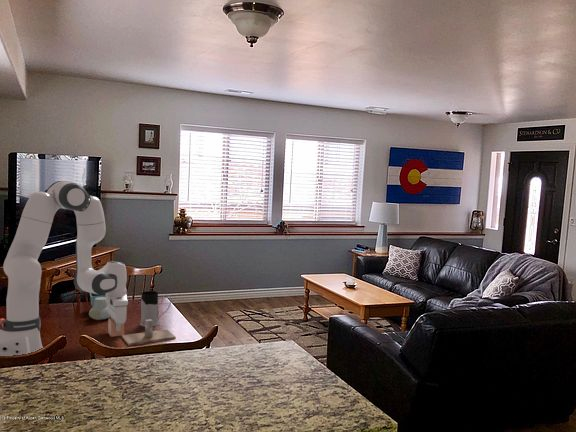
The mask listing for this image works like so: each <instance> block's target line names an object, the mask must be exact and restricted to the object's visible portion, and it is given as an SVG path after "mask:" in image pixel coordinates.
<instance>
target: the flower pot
mask: <svg viewBox="0 0 576 432" xmlns="http://www.w3.org/2000/svg"><path fill="white" fill-rule="evenodd" d="M89 297H90V304H91V309H92V308H93V307H94V302H95V298H98V297H106V293H105V294H94V293H90V292H89ZM107 304H108V303H107Z"/></svg>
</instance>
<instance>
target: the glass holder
mask: <svg viewBox="0 0 576 432" xmlns="http://www.w3.org/2000/svg"><path fill="white" fill-rule="evenodd" d="M166 296H168V297H169V298H170V299H169V305H168V307H167V308H166V310H165V311H163V313H161V314H160V315H159V305H161V304H162V303H163V298H164V297H166ZM140 303H141V305H140V308H141V309H140V312H141V313H140V316H141V317H140V319H141V320H140V324H139V325H140V326H141V327H144V328H145V320H147V319H151V320H153V327H157V326H159V325H160V322H159V320H160V318H161V316H163V315H164V314H165V313H166V312H167V311H168V310H169V308H170V307H171V304H172V298H171V296H170V295H169V294H164V295H163V296H161V302H159V292H158V291H155V290H153V291H152V290H149V291H142V292H141V300H140Z"/></svg>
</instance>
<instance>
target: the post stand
mask: <svg viewBox="0 0 576 432" xmlns="http://www.w3.org/2000/svg"><path fill="white" fill-rule="evenodd" d="M153 328H154V326H153V320H151V319H147V320H145V327H144V331H143V332H137V333H129V334H124V335H121V338H122V339H121V340H123V341H124V342H125V344H126V345H128V346H129V347H131V346H137V345H143V344H151V343H157V342H163V341H170V340H176V338H177V336H176V335H174V334H173V333H172V332H171V331H170V330H169V329H168V328H166V329H165V328H164V329H158V330H153Z"/></svg>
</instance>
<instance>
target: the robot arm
mask: <svg viewBox="0 0 576 432" xmlns="http://www.w3.org/2000/svg"><path fill="white" fill-rule="evenodd" d="M59 209H64V210H69V211H73V213H74V215H75V219H76V230H77V235H76V239H75V272H74V276H73V284H74V287H75V288H76V289H77V290H78V291H79V292H86V293H89V294H90V293H94V294H105V293H106V303H108V304H107V312H108V314H109V315H110V318H112V319H113V320H114V321H115V322H116V331H120V327H121V324H123V323H124V324H126V321H127V311H128V307H127V306H128V305H129V300H128V295H127V292H128V291H127V281H128V275H127V266H126V264H125V263H124V262H120V261H115V260H113V261H111V260H110V261H107V263H106V264H105V265H104V266H103V267H101V268H99V269H98V270H96V269H94V267H93V265H92V249H93V246H94V245H96V244H98V243H99V242H101V241H102V240H103V239H104V238H105V235H106V230H107V226H106V219H105V213H104V212H105V211H104V209H103V205H102V202H101V199H99V197H97V196H93V195H89V193H88V191H87V190H86V189H85V188H84V186H82V185H81V184H79V183H76V182H73V181H71V180H70V181H69V180H58V181H54V182H52V184H51V185H49V186H48V188H47V189H45V191H36V192H33V193H32V194H31V195H30V196H29V198H28V199H27V201H26V203H25V206H24V208H23V209H22V213H21V217H20V220H19V223H18V227H17V229H16V233H15V235H14V238H13V240H12V242H11V245H10V247H9V249H8V252H7V255H6V257H5V259H4V262H3V267H2V268H3V272H4V273H5V274H4V275H6V276H7V279H8V280H7V282H8V285H7V294H6V300H5V301H6V304H5V305H6V306H5V307H6V318H0V356H13V355H22V354H28V353H31V352H35V351H37V350H39V349H41V348H43V349H44V347H43V344H42V339H41V332H40V331H41V326H42V325H41V317H40V315H39V313H40V312H39V311H40V310H39V309H40V307H39V306H40V305H39V302H40V301H39V299H40V298H39V296H40V289H41V280H42V279H41V278H42V273H43V272H42V271H43V269H42V265H41V263H40V262H39V261H38V259H39V257H40V255H41V253H42V251H43V248H44V246H45V245H46V243H47V241H48V238H49V235H50V231H51V228H52V224H53V222H54V217H55V215H56V213H57V211H58V210H59Z"/></svg>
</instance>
